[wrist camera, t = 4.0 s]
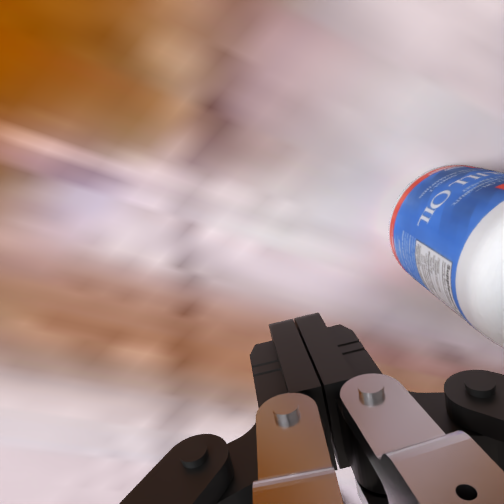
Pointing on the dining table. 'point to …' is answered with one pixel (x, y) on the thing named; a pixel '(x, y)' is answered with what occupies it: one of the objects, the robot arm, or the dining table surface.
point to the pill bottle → (455, 241)
